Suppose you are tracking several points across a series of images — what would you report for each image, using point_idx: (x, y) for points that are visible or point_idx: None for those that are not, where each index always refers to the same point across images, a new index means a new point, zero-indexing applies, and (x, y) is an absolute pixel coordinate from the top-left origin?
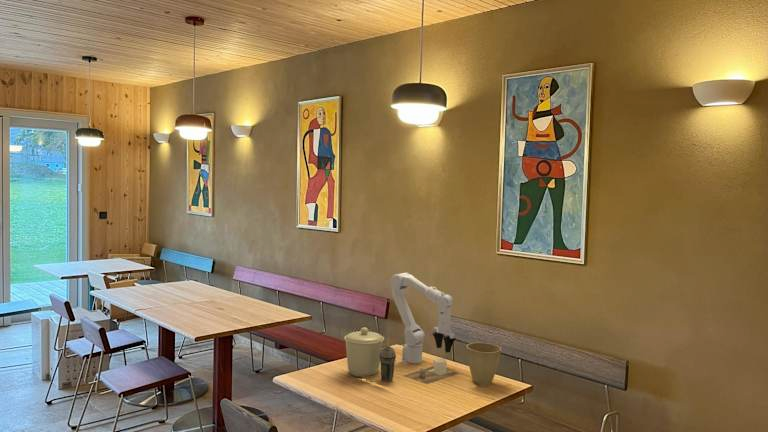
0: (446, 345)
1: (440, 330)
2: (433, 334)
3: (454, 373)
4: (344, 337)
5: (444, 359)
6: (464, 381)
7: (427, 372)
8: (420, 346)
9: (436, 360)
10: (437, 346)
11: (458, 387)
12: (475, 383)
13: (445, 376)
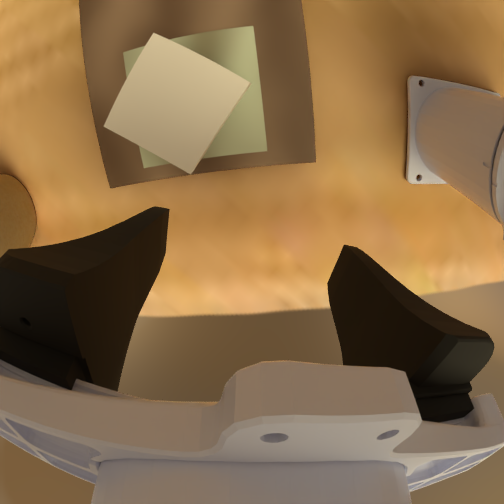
0: (96, 234)
1: (203, 497)
2: (469, 330)
3: (116, 160)
4: None
5: (171, 158)
6: (42, 150)
7: (231, 11)
8: (494, 165)
9: (186, 67)
10: (350, 253)
11: (4, 74)
12: (2, 174)
13: (99, 71)
